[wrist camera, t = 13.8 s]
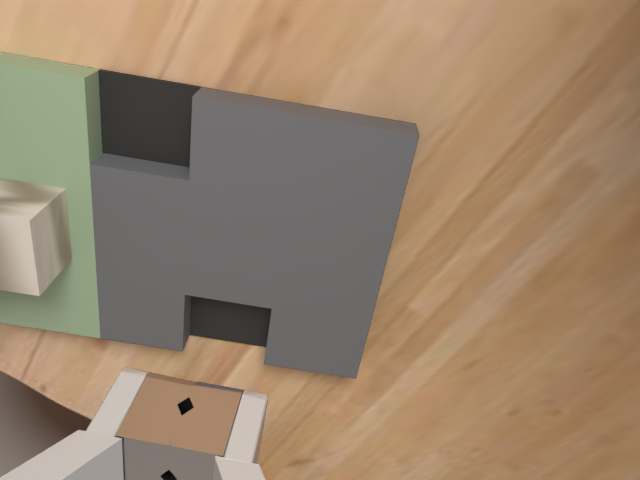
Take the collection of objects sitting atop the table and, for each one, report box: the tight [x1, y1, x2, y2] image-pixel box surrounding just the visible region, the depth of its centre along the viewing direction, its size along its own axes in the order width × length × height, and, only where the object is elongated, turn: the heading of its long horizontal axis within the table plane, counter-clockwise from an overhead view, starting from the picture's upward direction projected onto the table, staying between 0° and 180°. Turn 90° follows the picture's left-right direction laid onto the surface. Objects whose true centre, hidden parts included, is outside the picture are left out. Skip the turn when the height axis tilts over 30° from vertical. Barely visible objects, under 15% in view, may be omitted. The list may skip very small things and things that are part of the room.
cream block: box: [0, 178, 72, 296], centre depth 38 cm, size 6×6×5 cm
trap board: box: [0, 52, 420, 379], centre depth 40 cm, size 32×22×6 cm
